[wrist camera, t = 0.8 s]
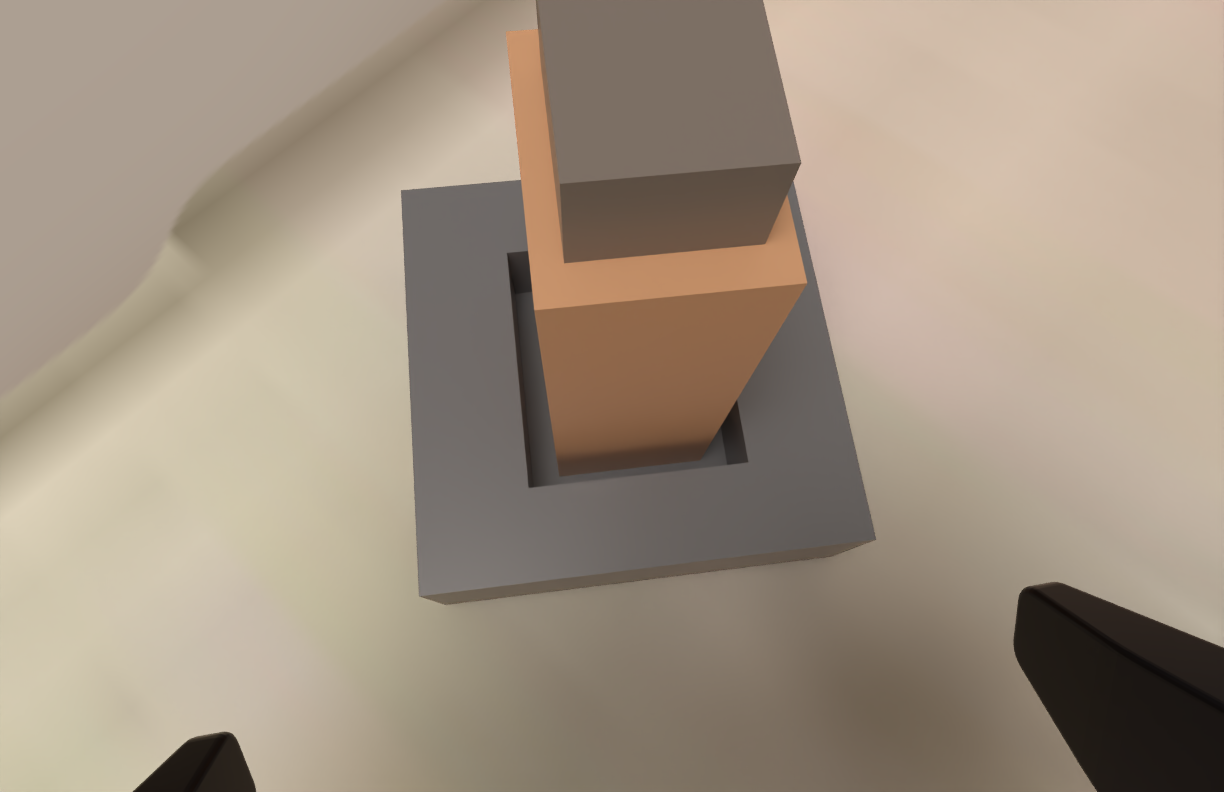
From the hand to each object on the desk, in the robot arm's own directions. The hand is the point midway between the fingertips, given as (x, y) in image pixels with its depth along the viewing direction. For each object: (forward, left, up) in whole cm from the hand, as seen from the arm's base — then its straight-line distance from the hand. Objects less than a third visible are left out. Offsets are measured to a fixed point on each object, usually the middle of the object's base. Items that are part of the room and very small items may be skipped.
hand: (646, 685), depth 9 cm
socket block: (+6, -5, -13) cm, 15 cm away
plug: (+6, -5, -12) cm, 14 cm away
